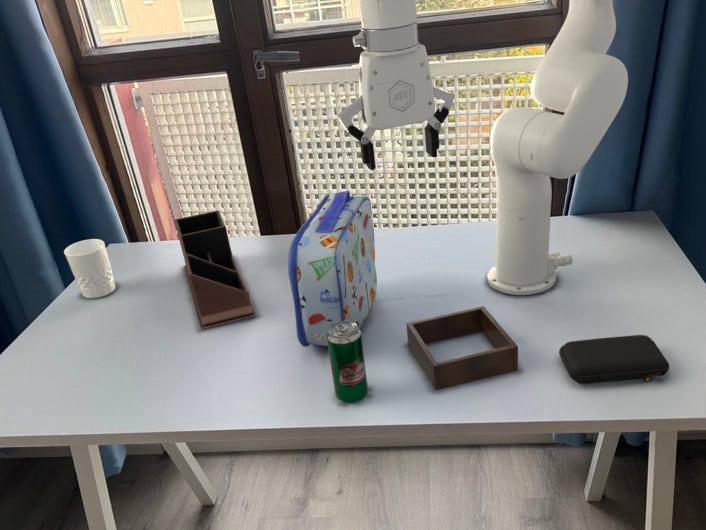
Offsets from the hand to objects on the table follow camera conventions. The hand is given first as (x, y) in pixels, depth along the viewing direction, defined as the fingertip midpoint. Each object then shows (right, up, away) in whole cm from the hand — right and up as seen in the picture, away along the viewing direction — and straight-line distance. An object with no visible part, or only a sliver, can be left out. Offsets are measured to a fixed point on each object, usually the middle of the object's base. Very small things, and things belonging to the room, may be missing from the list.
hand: (401, 161), depth 106 cm
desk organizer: (-35, -16, +36) cm, 53 cm away
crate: (+10, -30, +8) cm, 32 cm away
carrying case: (+32, -32, +1) cm, 45 cm away
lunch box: (-10, -23, +22) cm, 33 cm away
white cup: (-61, -16, +41) cm, 76 cm away
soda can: (-7, -36, +2) cm, 36 cm away
